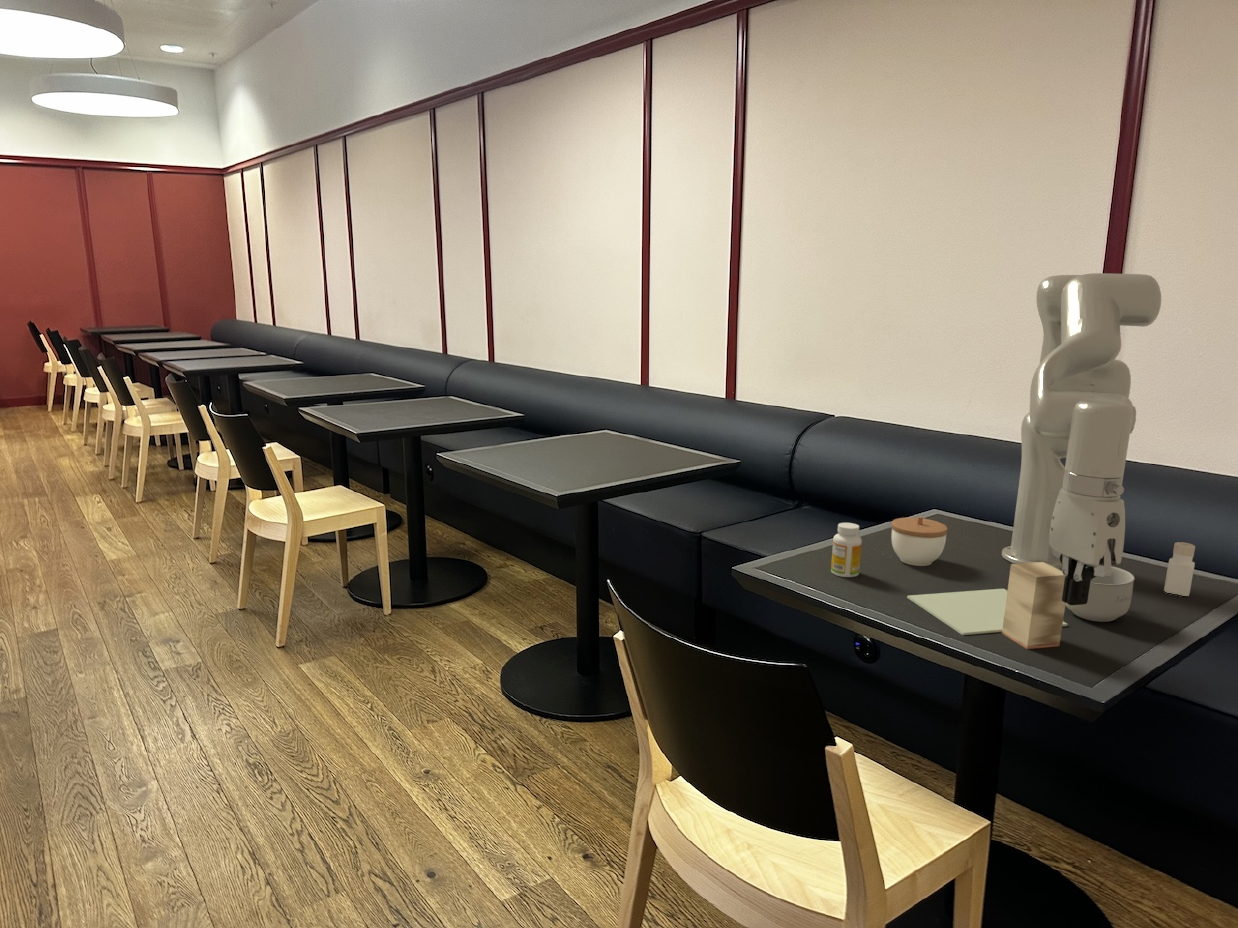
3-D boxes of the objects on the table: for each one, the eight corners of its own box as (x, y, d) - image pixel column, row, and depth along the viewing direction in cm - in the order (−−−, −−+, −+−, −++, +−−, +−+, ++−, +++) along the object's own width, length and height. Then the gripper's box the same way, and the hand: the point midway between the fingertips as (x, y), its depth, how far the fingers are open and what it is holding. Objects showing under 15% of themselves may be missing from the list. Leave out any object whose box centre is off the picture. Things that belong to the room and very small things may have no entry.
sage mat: (1003, 590, 161) (1003, 588, 160) (1067, 625, 145) (1067, 623, 145) (907, 597, 156) (907, 595, 156) (962, 635, 140) (962, 632, 140)
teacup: (1126, 633, 143) (1133, 587, 141) (1053, 618, 148) (1060, 574, 146) (1129, 606, 154) (1136, 564, 152) (1062, 593, 160) (1068, 552, 158)
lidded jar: (912, 549, 183) (917, 507, 181) (955, 564, 174) (960, 520, 172) (877, 557, 178) (881, 513, 176) (919, 573, 169) (923, 527, 167)
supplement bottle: (856, 569, 170) (860, 522, 168) (861, 578, 165) (865, 530, 163) (828, 567, 171) (832, 520, 169) (832, 577, 166) (836, 528, 164)
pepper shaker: (1164, 587, 164) (1172, 539, 162) (1189, 592, 162) (1198, 544, 160) (1163, 593, 161) (1171, 545, 159) (1188, 598, 159) (1197, 549, 156)
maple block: (1033, 630, 143) (1043, 561, 140) (1059, 645, 137) (1069, 574, 134) (1001, 633, 141) (1011, 564, 139) (1026, 648, 136) (1036, 576, 133)
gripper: (1155, 497, 119) (1134, 620, 124) (1075, 472, 134) (1059, 583, 138) (1109, 499, 118) (1090, 624, 122) (1034, 473, 132) (1019, 586, 136)
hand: (1074, 602), depth 130 cm, fingers closed
